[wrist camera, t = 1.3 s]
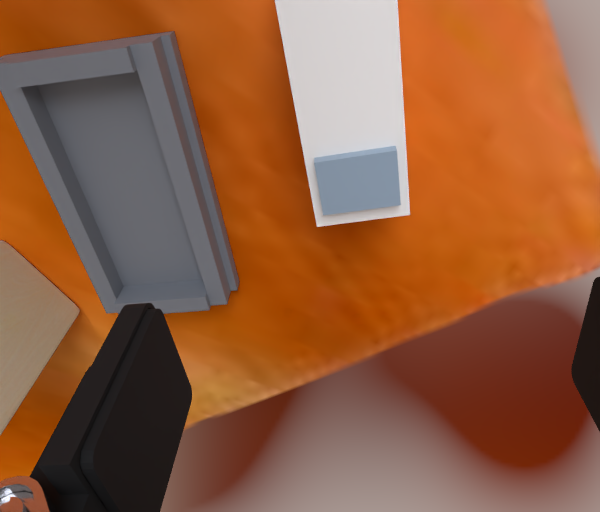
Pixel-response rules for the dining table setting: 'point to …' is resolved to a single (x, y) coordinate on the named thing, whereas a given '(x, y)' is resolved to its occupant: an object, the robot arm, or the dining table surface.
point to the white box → (348, 105)
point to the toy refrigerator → (27, 327)
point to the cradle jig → (125, 168)
